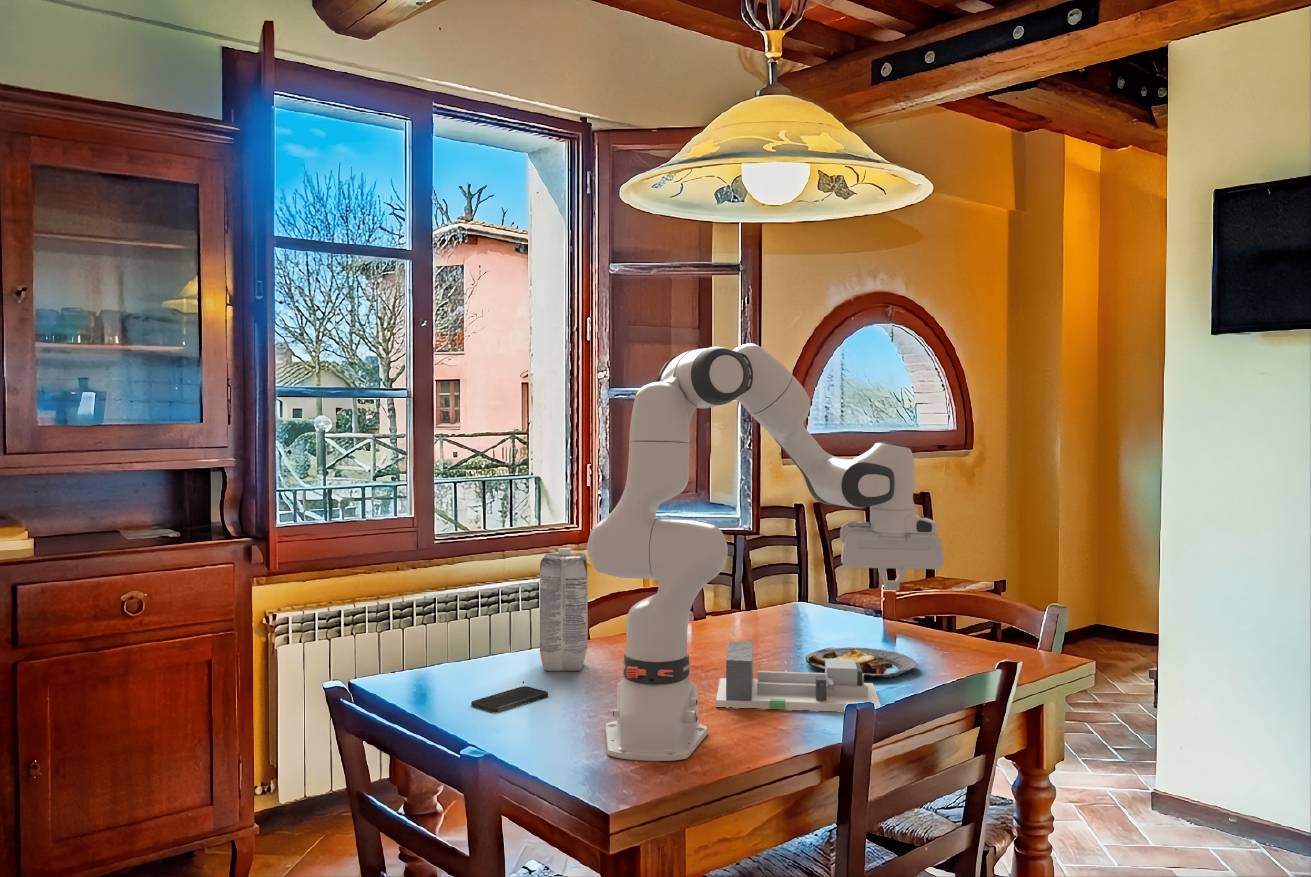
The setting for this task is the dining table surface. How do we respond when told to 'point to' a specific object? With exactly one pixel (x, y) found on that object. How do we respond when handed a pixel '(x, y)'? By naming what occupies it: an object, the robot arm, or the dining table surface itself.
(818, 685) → the block
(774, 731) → the dining table surface
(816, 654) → the food plate
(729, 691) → the grey rectangular block
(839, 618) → the dining table surface
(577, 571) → the juice carton
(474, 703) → the phone
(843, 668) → the block
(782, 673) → the base
